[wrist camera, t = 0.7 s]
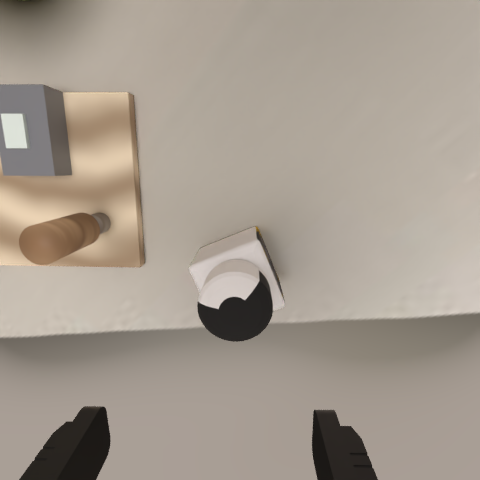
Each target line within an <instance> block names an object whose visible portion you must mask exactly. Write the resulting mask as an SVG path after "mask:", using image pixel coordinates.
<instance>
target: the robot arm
mask: <svg viewBox="0 0 480 480" xmlns="http://www.w3.org/2000/svg"><path fill="white" fill-rule="evenodd" d="M109 448H110V433H109V426H108V419H107V412H106V408H105V407H90V406H89V407H88V406H87V407H86V406H85V407H83V408H82V409H81V410H80V411H79V413H78V414H77V416H76V417H75V419H74V420H73V422H66V423H65V424H64V425H62V426H61V427H60V428H59V429H58V430H56V431H55V432H54V433H53V434H52V435H51V437H50V438H49V439H48V441H47V442H46V444H45V445H44V446H43V449H42V450H40V452H39V453H38V455H37V456H36V457H35V460H34V461H33V462H32V463H31V464H30V466H29V467H28V468H27V470H26V471H25V473H24V474H23V475H22V477H21V478H20V479H19V480H96V479H97V476H98V474H99V472H100V470H101V468H102V466H103V464H104V462H105V460H106V458H107V455H108V452H109ZM312 451H313V460H314V465H315V470H316V474H317V479H318V480H378V479H377V477H376V474H375V472H374V469H373V468H372V464H371V461H370V459H369V457H368V456H367V452H366V449H365V447H364V444H363V441H362V439H361V438H360V436H359V435H358V434H357V433H356V432H355V431H354V429H353V428H352V427H351V426H340V424H339V421H338V418H337V415H336V412H335V411H334V410H314V414H313V435H312Z"/></svg>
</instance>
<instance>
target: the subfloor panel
mask: <svg viewBox="0 0 480 480" xmlns="http://www.w3.org/2000/svg"><path fill="white" fill-rule="evenodd" d="M63 99H64V107H65V116H66V125H67V133H68V142H69V151H70V159H71V168H72V175H65V176H3V170H2V164H1V158H0V265H24V266H89V267H141V266H142V265H143V264H144V263H145V259H144V244H143V229H142V214H141V199H140V185H139V170H138V155H137V140H136V125H135V110H134V96H133V95H132V94H130V93H128V92H63ZM99 212H100V213H104V214H106V215H107V216H108V217H109V219H110V222H111V225H110V228H109V230H108V231H106V232H104V233H102V234H100V235H99V237H98V239H97V240H96V241H95V242H94V243H92V244H90V245H88V246H86V247H84V248H82V249H80V250H78V251H76V252H73V253H71V254H69V255H67V256H65V257H63V258H61V259H59V260H57V261H55V262H53V263H51V264H48V265H37V264H34V263H32V262H31V261H29V260H28V259H27V258H26V257H25V256H24V255H23V254H22V252H21V250H20V246H19V237H20V235H21V233H22V231H23V230H24V229H25V228H27V227H28V226H31V225H35V224H39V223H42V222H46V221H50V220H53V219H57V218H61V217H65V216H68V215H72V214H76V213H87V214H90V215H91V214H95V213H99Z"/></svg>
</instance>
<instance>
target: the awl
mask: <svg viewBox="0 0 480 480" xmlns="http://www.w3.org/2000/svg"><path fill="white" fill-rule="evenodd" d="M110 225H111V222H110V219H109V217H108V216H107V215H106V214H104V213H100V212H99V213H95V214H91V215H90V214H87V213H76V214H72V215H68V216H65V217H61V218H57V219H53V220H50V221H46V222H42V223H39V224H35V225H31V226H28V227H27V228H25V229H24V230H23V231H22V233H21V235H20V237H19V246H20V250H21V252H22V254H23V255H24V256H25V257H26V258H27V259H28V260H29V261H31V262H32V263H34V264H37V265H48V264H51V263H53V262H55V261H57V260H59V259H61V258H63V257H65V256H67V255H69V254H71V253H73V252H76V251H78V250H80V249H82V248H84V247H86V246H88V245H90V244H92V243H94V242H95V241H96V240H97V239H98V237H99V235H100V234H102V233H104V232H106V231H108V230H109V228H110Z"/></svg>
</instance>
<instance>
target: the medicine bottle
mask: <svg viewBox="0 0 480 480" xmlns="http://www.w3.org/2000/svg"><path fill="white" fill-rule="evenodd" d="M189 272H190V274H191V276H192V278H193V280H194V282H195V284H196V287H197V289H198V291H199V293H200V295H199V298H198V313H199V317H200V319H201V321H202V323H203V325H204V326H205V327H206V329H208V330H209V331H210V332H211V333H212V334H214V335H215V336H217V337H219V338H221V339H224V340H228V341H244V340H248V339H251V338H253V337H255V336H257V335H258V334H260V333H261V332H262V331H263V330H264V329H265V328H266V326H267V325H268V323H269V322H270V319H271V317H272V312H273V311H276V310H279V309H281V308H283V307H284V306H285V301H284V297H283V293H282V289H281V286H280V282H279V278H278V276H277V273H276V271H275V268H274V266H273V264H272V261H271V259H270V256H269V254H268V251H267V249H266V246H265V244H264V241H263V239H262V236H261V234H260V232H259V229H258V227H256V226H255V227H252V228H249V229H247V230H244V231H242V232H239V233H237V234H234V235H232V236H229V237H227V238H224V239H222V240H219V241H217V242H214V243H211V244H209V245H206V246H204V247H201V248H200V249H199V251H198V253H197V254H196V256H195V257H194V259H193V261H192V262H191V264H190V266H189Z"/></svg>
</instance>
